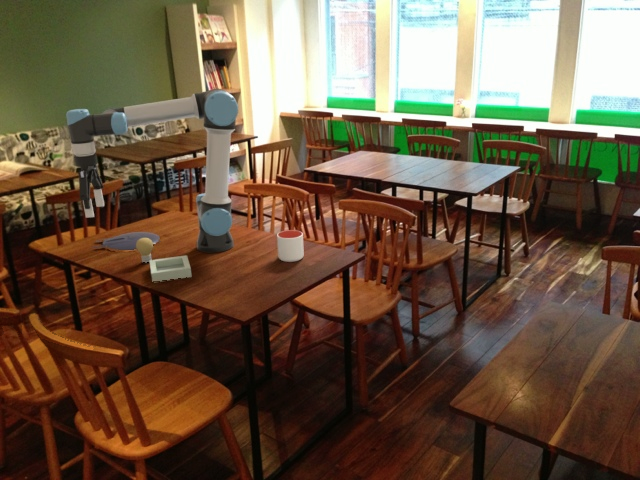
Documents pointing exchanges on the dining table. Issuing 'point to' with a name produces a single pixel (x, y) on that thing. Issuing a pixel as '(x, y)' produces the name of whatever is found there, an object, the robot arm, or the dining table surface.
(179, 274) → the tray
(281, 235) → the cup
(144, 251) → the light bulb
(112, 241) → the toy spaceship
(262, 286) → the dining table surface
